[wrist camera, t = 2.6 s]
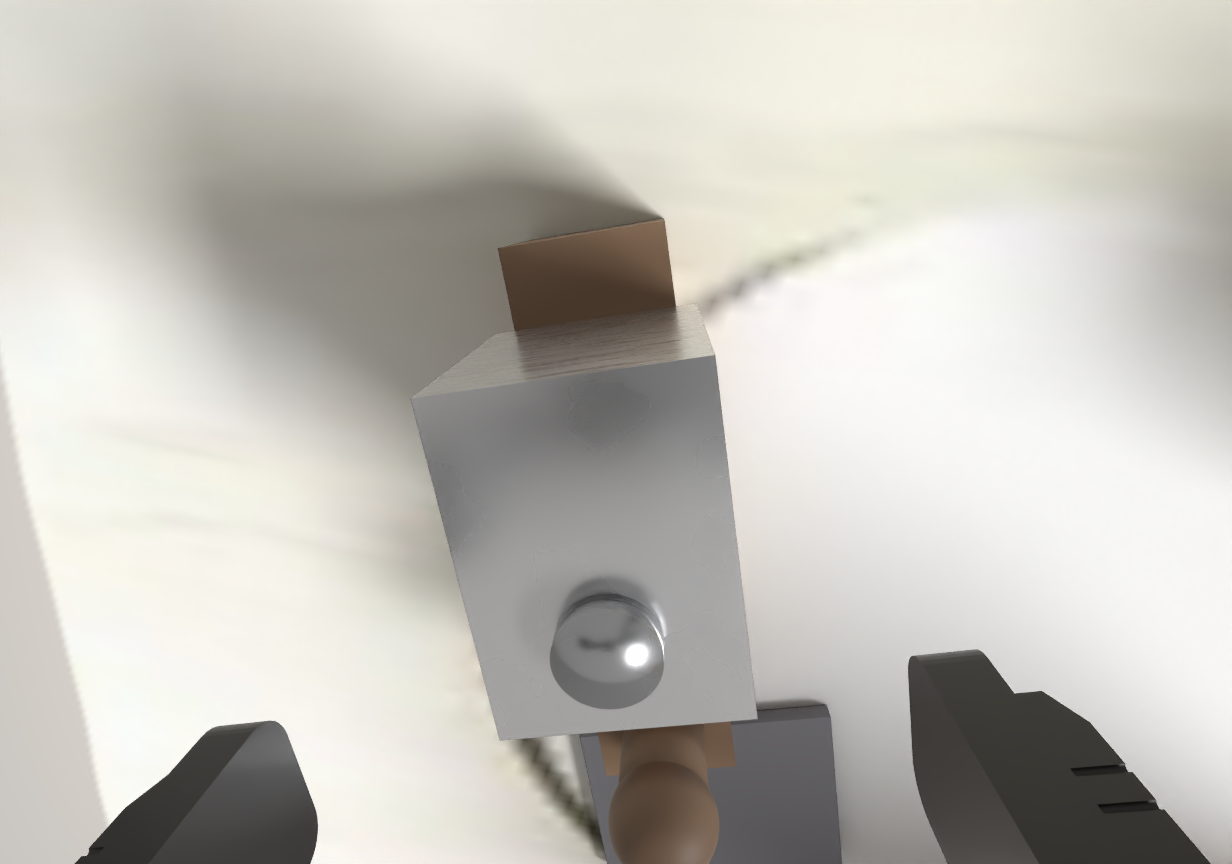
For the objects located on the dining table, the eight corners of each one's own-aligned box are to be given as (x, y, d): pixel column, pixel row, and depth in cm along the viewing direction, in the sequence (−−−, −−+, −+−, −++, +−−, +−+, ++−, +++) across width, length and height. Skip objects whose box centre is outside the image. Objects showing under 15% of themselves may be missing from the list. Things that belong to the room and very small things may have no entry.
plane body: (529, 240, 20) (436, 263, 12) (663, 218, 19) (665, 225, 11) (615, 689, 25) (591, 929, 17) (724, 679, 24) (756, 921, 16)
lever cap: (495, 334, 17) (397, 408, 11) (696, 303, 16) (718, 363, 10) (548, 580, 19) (491, 764, 13) (727, 560, 18) (762, 742, 12)
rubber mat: (581, 725, 25) (579, 737, 25) (826, 704, 24) (830, 716, 24) (611, 865, 27) (610, 878, 27) (837, 851, 26) (842, 865, 26)
